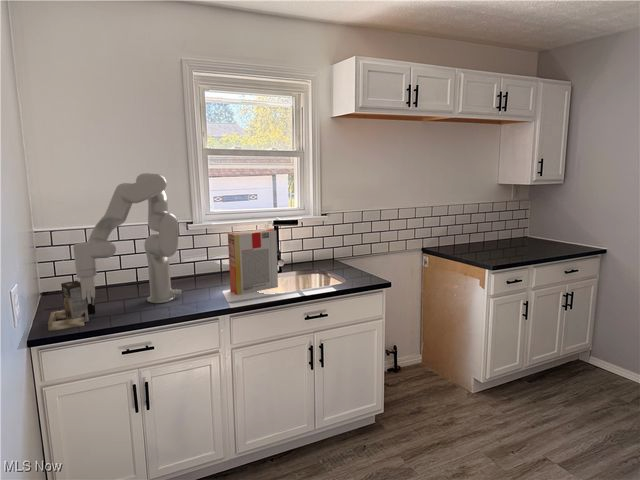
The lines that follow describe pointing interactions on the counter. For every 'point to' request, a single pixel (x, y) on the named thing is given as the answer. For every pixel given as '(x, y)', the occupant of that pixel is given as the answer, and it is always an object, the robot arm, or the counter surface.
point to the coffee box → (74, 301)
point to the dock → (63, 321)
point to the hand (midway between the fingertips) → (91, 313)
